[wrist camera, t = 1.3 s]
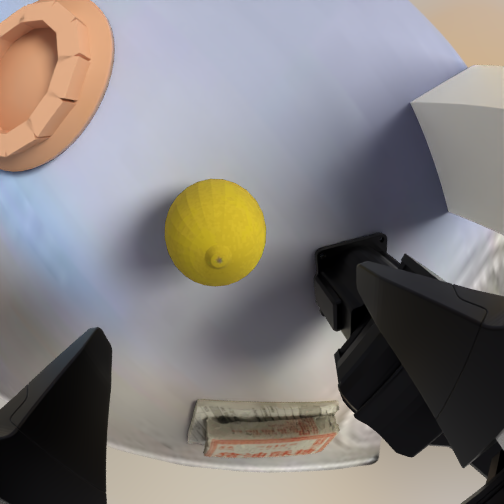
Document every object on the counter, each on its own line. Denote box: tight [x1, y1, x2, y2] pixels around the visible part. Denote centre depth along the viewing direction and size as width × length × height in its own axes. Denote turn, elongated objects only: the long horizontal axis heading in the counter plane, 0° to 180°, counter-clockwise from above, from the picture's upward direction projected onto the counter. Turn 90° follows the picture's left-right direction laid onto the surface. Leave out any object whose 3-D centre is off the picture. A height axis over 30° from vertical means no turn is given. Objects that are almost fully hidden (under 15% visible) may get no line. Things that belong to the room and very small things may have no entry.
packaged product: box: [188, 399, 340, 458], centre depth 29 cm, size 18×5×10 cm
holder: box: [0, 0, 115, 172], centre depth 11 cm, size 14×14×3 cm
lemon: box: [165, 179, 266, 286], centre depth 16 cm, size 6×6×8 cm
